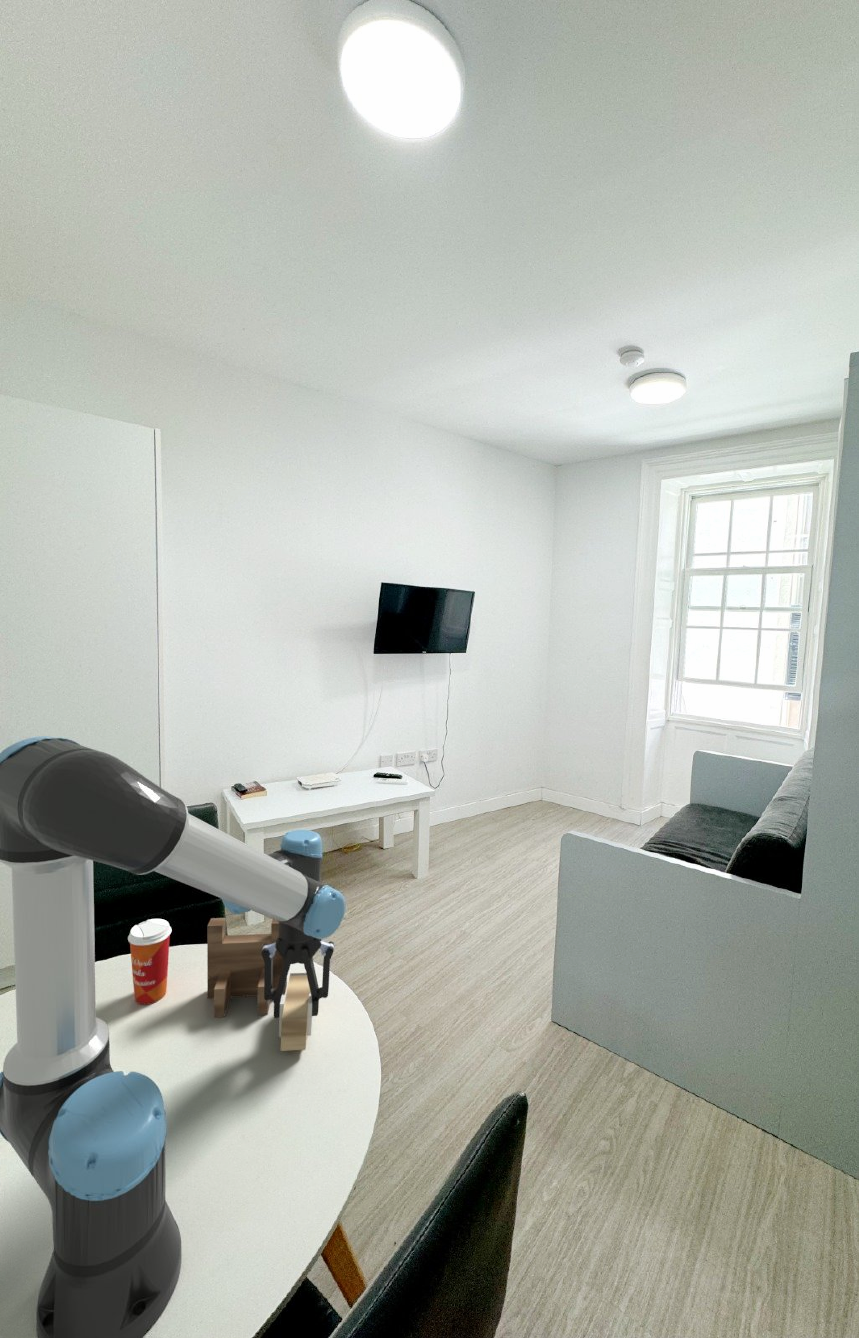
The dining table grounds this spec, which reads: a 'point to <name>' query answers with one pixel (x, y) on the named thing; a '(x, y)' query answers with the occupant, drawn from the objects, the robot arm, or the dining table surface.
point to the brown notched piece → (239, 965)
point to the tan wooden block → (295, 1013)
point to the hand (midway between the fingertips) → (295, 1030)
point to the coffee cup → (150, 959)
